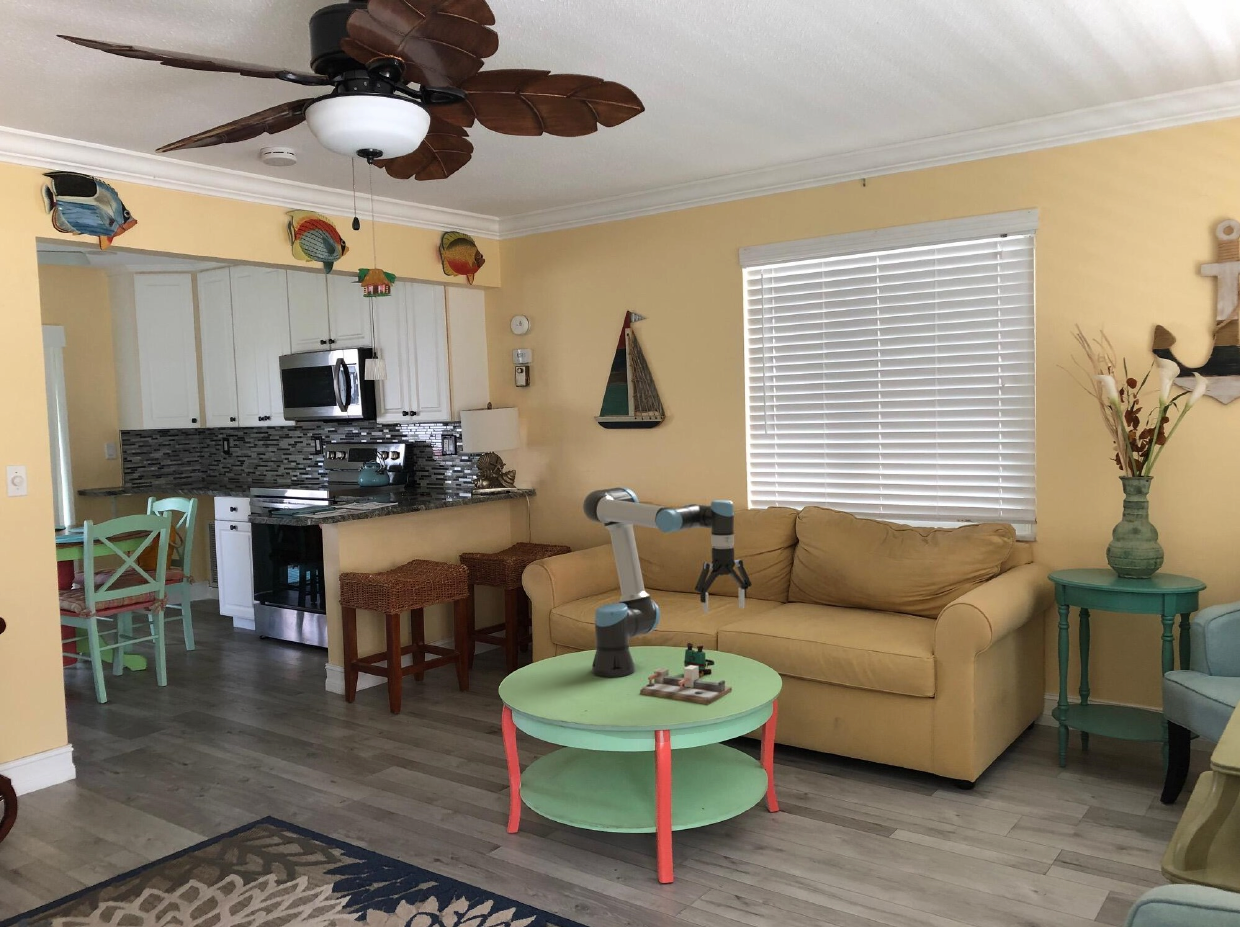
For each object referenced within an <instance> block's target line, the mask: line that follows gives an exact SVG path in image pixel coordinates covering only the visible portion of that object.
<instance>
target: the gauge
mask: <svg viewBox="0 0 1240 927" xmlns="http://www.w3.org/2000/svg"><path fill="white" fill-rule="evenodd" d="M669 674H670V672H669V668H663V667H659V668H658V669H655V670H653V675H651V676H648V677H647V680H648V684H646V685H645V686H643V687H642V688H641V689H639V690H640V692H639V693H640V694H641V695H645V696H646V695H647V696H655V697H658V698H664V699H665V698H666V699H673V700H679V701H686V702H691V703H696V704H697V703H698V704H705V705H710V704H712V703H714V702H715V701H717V700H719V699H720V698H722V697H724V696H725V695H727V694H729V693H731V692H732V691H733V689H732V688H733V687H732V686H726V680H723V679H722V680H720V681H718V682H715V681H714V682H713V681H707V680H700V679H699V680H695V681H693V685H694V687H693V688H690V687H684V684H682V689H680V684H679V681H681V680H683V679H684V677H679V676H672V675H669ZM652 680H653V681H652Z"/></svg>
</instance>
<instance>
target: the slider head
mask: <svg viewBox="0 0 1240 927" xmlns="http://www.w3.org/2000/svg"><path fill="white" fill-rule="evenodd" d="M683 678H684V679H683V680H681V681H679V684H680V689H682V684H684V687H690V688H693V687H694V685H693V681H695V680H700V676H699V667H698V666H693V665H690V666H688V667H684V668H683Z"/></svg>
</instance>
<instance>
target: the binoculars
mask: <svg viewBox="0 0 1240 927" xmlns="http://www.w3.org/2000/svg"><path fill="white" fill-rule="evenodd" d="M686 647H687V648H686V649H685V651H684V652H685V654H684V660H683V665H684V668H686V667H688V666H690V665H693V666H698V667H699V677H702V676H704V674H712V669H711V668H709V667H711V666H714V665H715V661H714V660H711V659H706V652H705V651H703V650H704V645H699V646H696V649H697V650H695V649H693V647H694V644H693V643H691V642H687V643H686Z"/></svg>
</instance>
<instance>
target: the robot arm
mask: <svg viewBox="0 0 1240 927" xmlns="http://www.w3.org/2000/svg"><path fill="white" fill-rule="evenodd" d="M639 502H640V501H639V498H638V497H637V495H636V494H635V492H634V491H632V490H631V489H630V488H628V487H614V488H605V489H598V490H597V489H596V490H593V491H592V492H589V493H588V494H587V496H585V499H584V500H583V503H582V509H583V513H584V515H585V517H586V518H587V519H588V520H590V521H591V522H595V523H603V525H604V528H605V529H606V530H608V531H609V536H610V539H611V545H612V551H613V555H614V560H615V567H616V572H617V576H618V582H619V587H620V593H621V597H620V599H619V600H618V602H612V603H605V604H603V605H601V606H599V607H598V608H597V609H596V610H595V613H594V614H595V616H594V625H595V626H594V627H595V628H594V629H595V647H596V648H595V654H594V658H593V661H592V665H591V673H592V674H593V675H594V676H598V677H605V678H617V677H625V676H629V675H632V674H633V673H634V672H635V671H636V670H635V666H636V665H635V662H634V659H633V656H632V653H631V651H630V642H629V640H630V639H631V638H634V637H637V636H640V635H647V634H649V633H650V632H653V631H654V630H656V628H657V627H658V625H659V624H660V621H661V611H660V607H659V606H658V604H656V602H655V601H654V600H652V599H651V594H649V593H648V592H646V590H645V589H646V588H645V586H644V585H645V584H644V579H643V573H642V569H641V563H640V559H639V554H638V548H637V543H636V538H635V532H634V526H640V527H645V528H652V529H653V528H654V529H657V530H660V531H661V532H662V533H675V532H679V531H680V532H681V531H684V530H689V529H695V528H708V529H711V531H710V532H711V533H710V534H711V537H710V538H711V546H712V548H711V560H712V561H711V562H706V561H705V562H703V564H702V570H701V573H700V575H699V578H698V579H697V581H696V582H697V583H696V585H695V587H694V590H695V591H696V592H699V594H700V599H699V600H700V603H702V612H703V613H705V614H709V610H710V609H709V607H710V606H709V593H708V590H709V589H710V588H711V586H712V584H713V583H714V582H715V581H716V579H717V578H718V577H719V576H724V575H726V576H728V575H730V577H732V579H733V580H734V581H735V583H736V584H738V586H739V587H738V591H737V592H738V608H739V609H742V610H743V609H745V604H746V602H745V599H746V598H747V590H749V587H752V586H753V585H752V582H751V580H750V578H749V575H748V573H747V571H746V569H745V568H744V562H743V560H741V559H738V558H737V559H736V560H735V548H734V546H735V532H734V531H735V528H734V527H735V526H734V525H735V524H734V523H735V511H734V510H735V509H734V503H733V501H732V500H728V499H724V500H723V499H717V500H712V501H711V503H710V505H707V504H705V505H703V504H697V503H693V504H692V503H691V504H685V505H684V506H682V507H667V506H660V505H653V504H647V503H646V504H645V503H639ZM735 566H736V568H737V570H738V572H739V574H740V576H739V575H738V573H737V572H736V570H735V569H734V568H735ZM711 569H712V570H711ZM710 570H711V572H710Z"/></svg>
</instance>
